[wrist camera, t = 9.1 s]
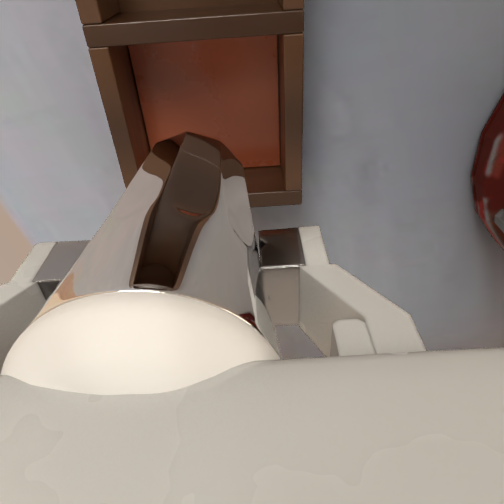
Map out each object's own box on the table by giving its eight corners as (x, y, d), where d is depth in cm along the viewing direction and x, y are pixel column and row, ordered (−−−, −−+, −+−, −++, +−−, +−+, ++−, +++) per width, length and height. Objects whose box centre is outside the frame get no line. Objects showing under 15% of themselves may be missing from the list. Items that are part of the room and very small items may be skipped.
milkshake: (142, 259, 15) (33, 611, 7) (106, 112, 12) (-164, 450, 4) (267, 253, 15) (296, 601, 7) (263, 104, 12) (309, 431, 4)
